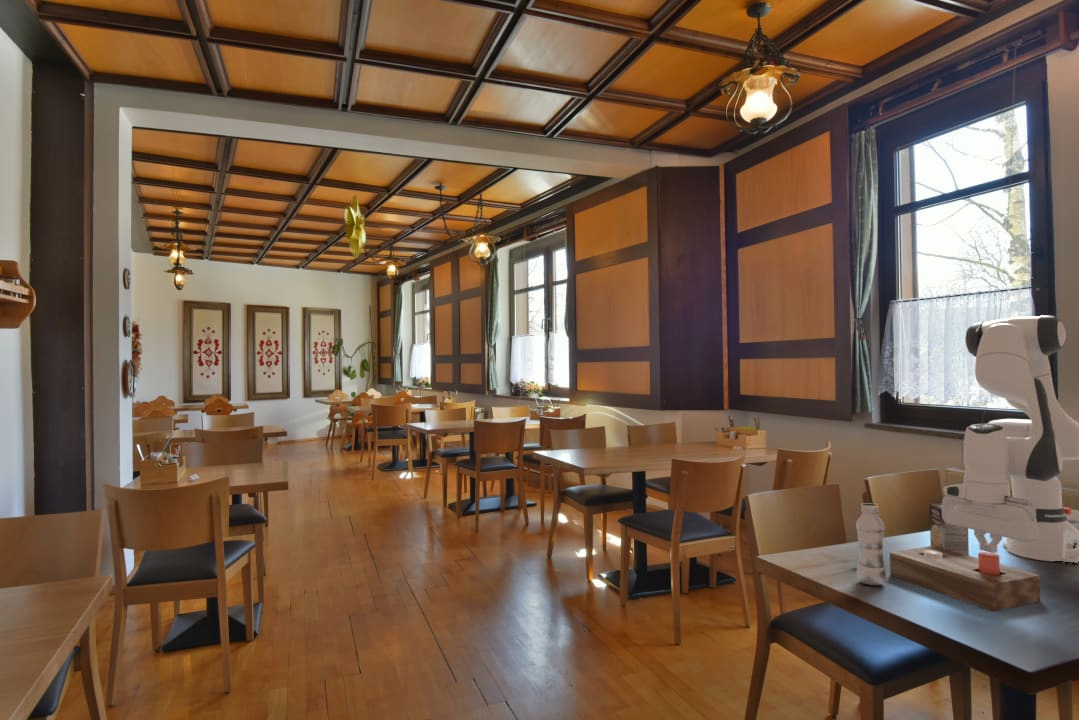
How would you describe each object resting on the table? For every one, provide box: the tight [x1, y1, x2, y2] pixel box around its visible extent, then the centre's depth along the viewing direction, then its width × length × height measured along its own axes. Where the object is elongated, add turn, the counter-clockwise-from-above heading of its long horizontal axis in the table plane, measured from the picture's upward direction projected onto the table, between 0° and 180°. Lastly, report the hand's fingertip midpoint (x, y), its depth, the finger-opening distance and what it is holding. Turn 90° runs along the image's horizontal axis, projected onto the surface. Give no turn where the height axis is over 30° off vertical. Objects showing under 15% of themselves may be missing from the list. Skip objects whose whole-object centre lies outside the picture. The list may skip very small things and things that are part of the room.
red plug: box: [977, 551, 1001, 576], centre depth 143 cm, size 4×4×6 cm
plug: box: [924, 550, 942, 559], centre depth 156 cm, size 4×4×6 cm
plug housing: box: [889, 545, 1041, 612], centre depth 150 cm, size 16×26×6 cm, turn 20°
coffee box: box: [929, 503, 970, 556], centre depth 167 cm, size 9×6×16 cm
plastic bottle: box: [855, 502, 887, 586], centre depth 153 cm, size 6×7×20 cm
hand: (988, 551), depth 143 cm, fingers closed
